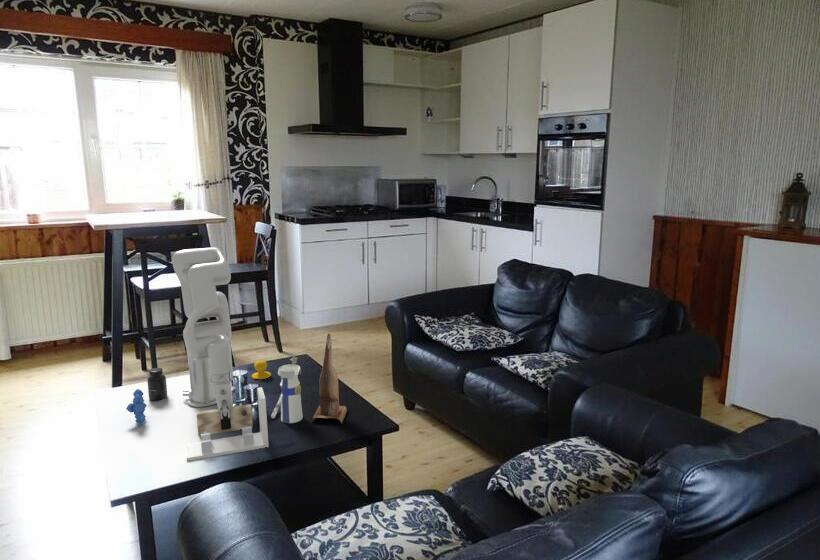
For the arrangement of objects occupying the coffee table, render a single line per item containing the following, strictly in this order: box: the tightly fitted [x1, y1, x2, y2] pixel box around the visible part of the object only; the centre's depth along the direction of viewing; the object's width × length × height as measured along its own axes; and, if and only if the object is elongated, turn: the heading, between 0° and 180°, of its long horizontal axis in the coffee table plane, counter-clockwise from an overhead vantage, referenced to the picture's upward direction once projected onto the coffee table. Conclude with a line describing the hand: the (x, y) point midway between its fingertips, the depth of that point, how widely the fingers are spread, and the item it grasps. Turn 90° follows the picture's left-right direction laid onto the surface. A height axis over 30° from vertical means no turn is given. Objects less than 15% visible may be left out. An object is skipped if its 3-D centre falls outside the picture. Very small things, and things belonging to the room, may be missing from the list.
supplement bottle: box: [146, 367, 168, 402], centre depth 232 cm, size 7×7×12 cm
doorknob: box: [251, 359, 272, 380], centre depth 254 cm, size 8×8×8 cm
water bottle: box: [277, 355, 303, 424], centre depth 210 cm, size 8×9×25 cm
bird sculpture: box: [311, 332, 348, 424], centre depth 210 cm, size 11×12×32 cm
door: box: [196, 403, 254, 437], centre depth 203 cm, size 18×3×8 cm, turn 109°
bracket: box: [270, 395, 281, 419], centre depth 223 cm, size 3×21×10 cm, turn 174°
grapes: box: [125, 388, 147, 425], centre depth 210 cm, size 12×7×12 cm, turn 24°
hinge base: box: [186, 386, 270, 461], centre depth 190 cm, size 25×10×17 cm, turn 110°
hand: (225, 423), depth 203 cm, fingers open, 9 cm apart
